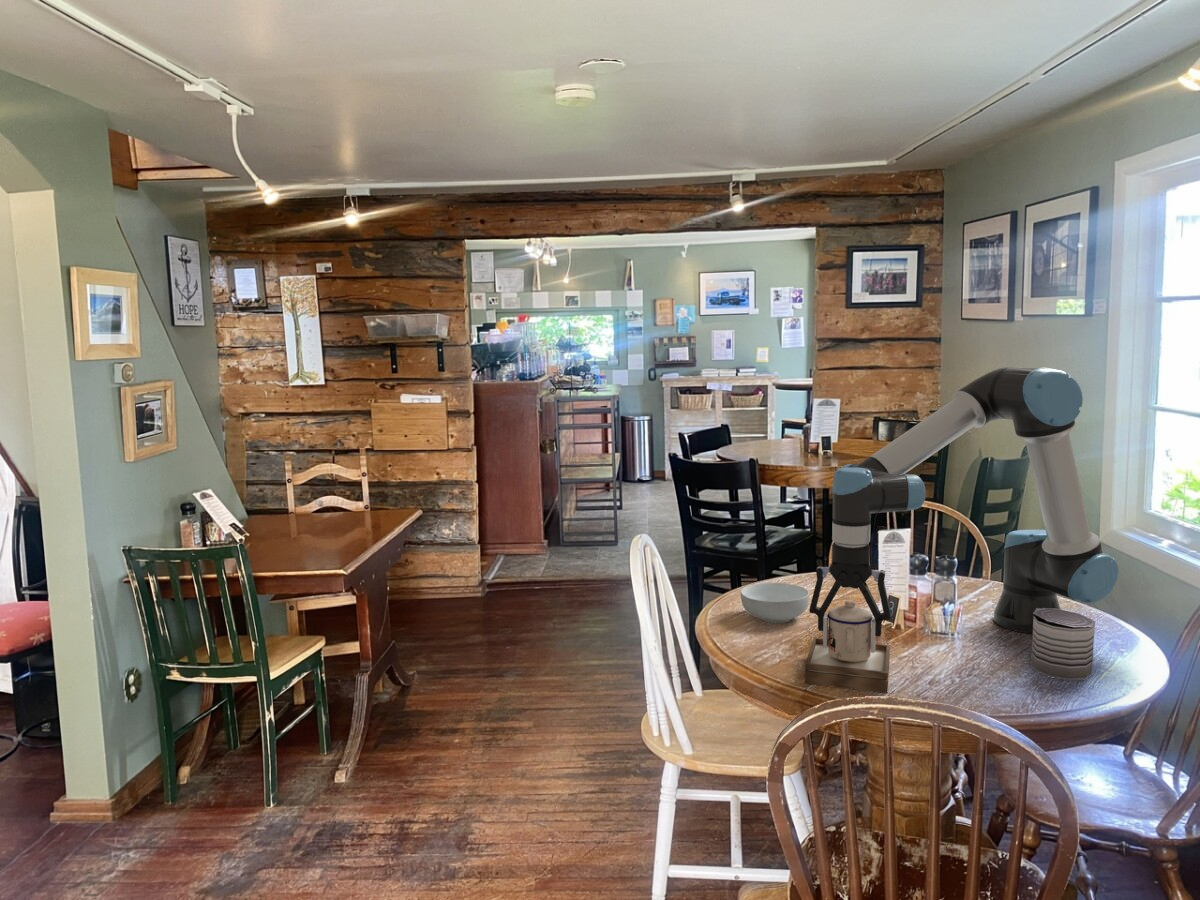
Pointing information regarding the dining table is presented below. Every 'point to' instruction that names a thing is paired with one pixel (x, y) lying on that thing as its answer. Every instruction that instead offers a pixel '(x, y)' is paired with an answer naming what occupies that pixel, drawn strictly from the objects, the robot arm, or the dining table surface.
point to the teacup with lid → (849, 632)
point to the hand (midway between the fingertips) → (849, 647)
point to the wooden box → (848, 669)
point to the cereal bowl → (775, 601)
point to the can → (1062, 644)
